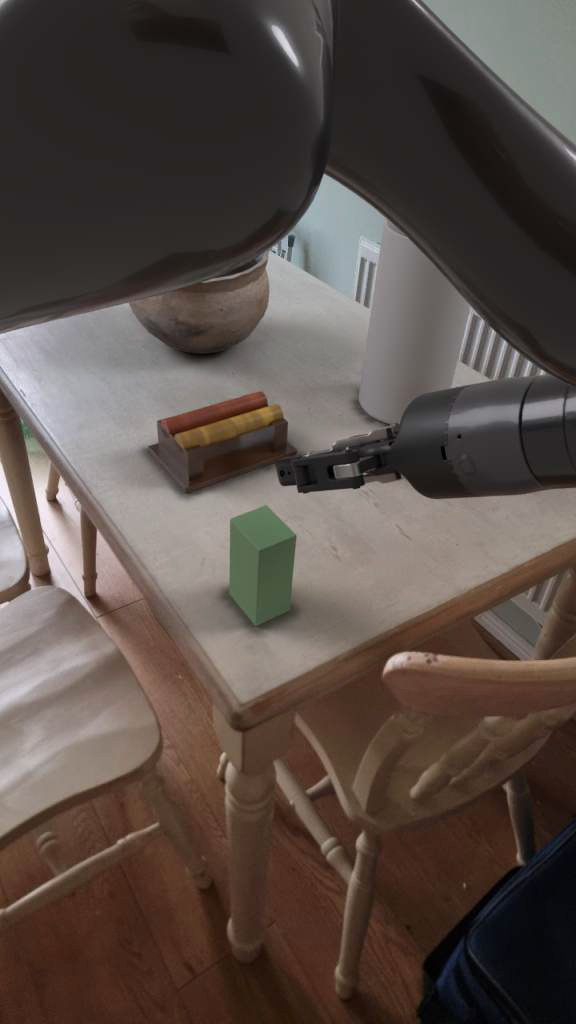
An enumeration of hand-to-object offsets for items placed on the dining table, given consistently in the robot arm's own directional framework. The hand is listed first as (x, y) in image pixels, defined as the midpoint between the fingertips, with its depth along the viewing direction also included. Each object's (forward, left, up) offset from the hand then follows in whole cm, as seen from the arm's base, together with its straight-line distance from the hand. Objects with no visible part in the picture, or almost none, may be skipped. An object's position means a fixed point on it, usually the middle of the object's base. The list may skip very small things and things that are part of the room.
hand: (317, 460), depth 58 cm
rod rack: (-16, +22, -17) cm, 32 cm away
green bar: (-4, -1, -17) cm, 18 cm away
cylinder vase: (+4, +42, -18) cm, 45 cm away
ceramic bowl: (-30, +50, -18) cm, 61 cm away
